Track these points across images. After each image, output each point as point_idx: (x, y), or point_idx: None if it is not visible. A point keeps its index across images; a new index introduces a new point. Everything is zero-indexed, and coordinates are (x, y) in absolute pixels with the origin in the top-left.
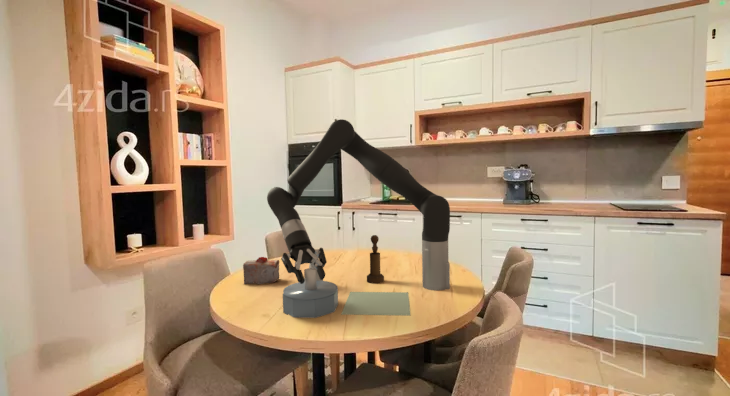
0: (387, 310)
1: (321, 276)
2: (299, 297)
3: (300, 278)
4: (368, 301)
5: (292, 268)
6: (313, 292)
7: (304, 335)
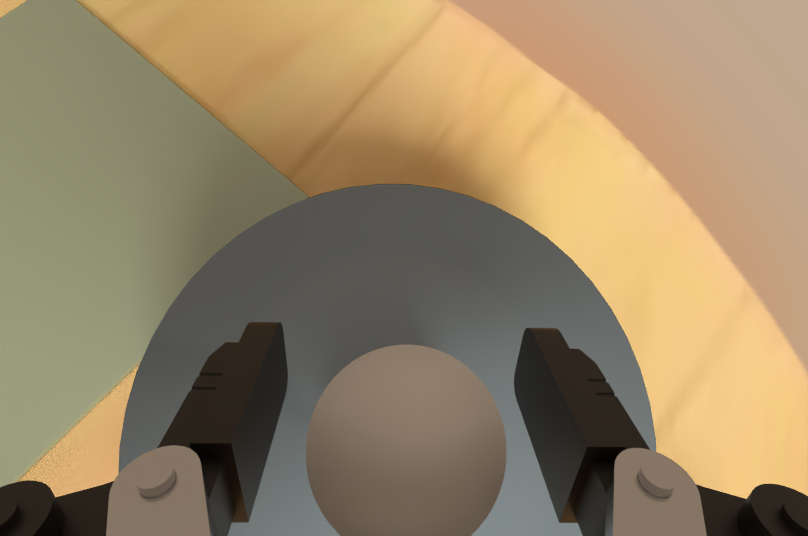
0: (79, 85)
1: (278, 358)
2: (572, 262)
3: (577, 359)
4: (34, 259)
5: (768, 486)
6: (429, 297)
7: (565, 124)
